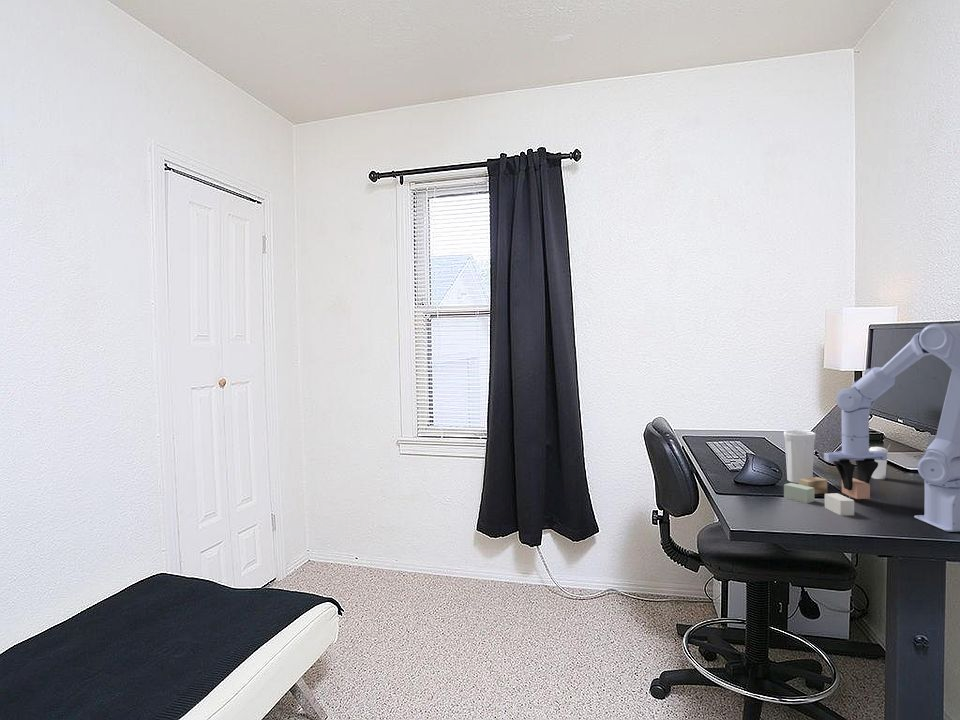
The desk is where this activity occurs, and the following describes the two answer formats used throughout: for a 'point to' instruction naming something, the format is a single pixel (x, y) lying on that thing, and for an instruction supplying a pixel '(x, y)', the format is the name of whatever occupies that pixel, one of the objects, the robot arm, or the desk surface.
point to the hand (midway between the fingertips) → (855, 488)
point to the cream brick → (839, 504)
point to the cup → (799, 454)
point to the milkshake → (880, 464)
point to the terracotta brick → (858, 490)
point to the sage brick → (799, 492)
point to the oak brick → (815, 484)
